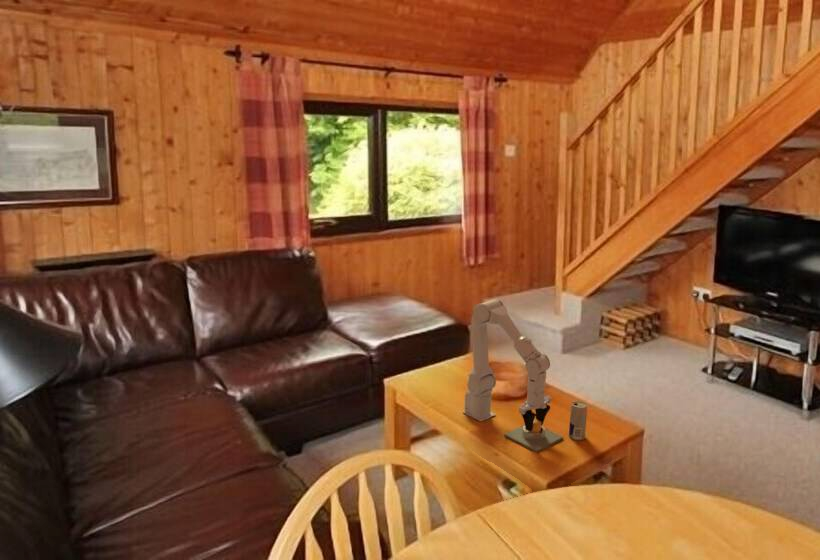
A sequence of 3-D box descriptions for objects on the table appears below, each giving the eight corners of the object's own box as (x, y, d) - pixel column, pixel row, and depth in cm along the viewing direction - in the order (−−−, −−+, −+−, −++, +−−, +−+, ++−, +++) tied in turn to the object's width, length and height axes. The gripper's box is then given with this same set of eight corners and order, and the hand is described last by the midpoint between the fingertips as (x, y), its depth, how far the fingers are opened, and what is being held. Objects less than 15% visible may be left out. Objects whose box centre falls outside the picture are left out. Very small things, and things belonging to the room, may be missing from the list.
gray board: (504, 436, 203) (504, 433, 203) (530, 423, 212) (530, 421, 212) (536, 452, 193) (536, 450, 193) (563, 439, 201) (563, 436, 201)
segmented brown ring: (518, 434, 203) (518, 428, 202) (532, 428, 207) (532, 421, 207) (535, 443, 197) (535, 436, 196) (549, 436, 202) (549, 429, 201)
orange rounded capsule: (524, 434, 202) (525, 421, 201) (532, 431, 205) (533, 417, 204) (534, 439, 199) (535, 426, 198) (542, 436, 202) (544, 422, 201)
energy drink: (572, 431, 207) (575, 399, 204) (587, 436, 203) (590, 404, 200) (566, 437, 203) (568, 405, 200) (581, 442, 199) (583, 409, 196)
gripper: (531, 400, 191) (529, 438, 194) (559, 388, 200) (556, 425, 203) (514, 392, 196) (512, 430, 199) (542, 381, 205) (540, 417, 208)
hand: (534, 427), depth 201 cm, fingers open, 5 cm apart
